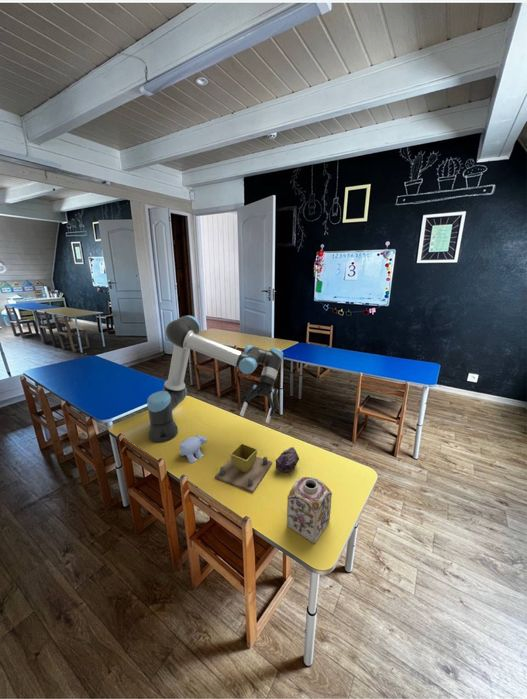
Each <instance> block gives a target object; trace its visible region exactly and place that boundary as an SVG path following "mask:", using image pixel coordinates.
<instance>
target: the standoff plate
mask: <svg viewBox="0 0 527 699" xmlns="http://www.w3.org/2000/svg"><path fill="white" fill-rule="evenodd" d="M272 465H273V461H272V460H268V457H267V456H263V457H259V456H256V460H255V463H254V464H253V466H252V467H251V468H250V469H249V471H248V472H247V473H244V472H242V471H240V470H238V469H236V468H235V466H234V465H233V463H232V459H231V457H230V458H229V459H228V460H227V462H225V464H224V465H223V466H221V467H219V470H218V471H217V473H216V474H215V475H214V478H215V479H216V480H218V481H222V482H224V483H227V484H229V485H232V486H235V487H236V488H239V489H242V490H244V491H247V492H249V493H252V494H254V493H255V491H256V490H257V488H258V486H259V485H260V483H261V482H262V481H263V479H264V477H265V476H266V475H267V473H268V471H269V470H270V468H271V467H272Z"/></svg>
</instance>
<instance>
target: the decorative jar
mask: <svg viewBox="0 0 527 699" xmlns="http://www.w3.org/2000/svg"><path fill="white" fill-rule="evenodd" d="M332 494H333V492H332V491H331V489H330V488H328V486H327V485H326V483H324V482H323V480H319V478H317V477H316V478H315V477H313V476H305V477H299V478H298V479H297V480H296V481H295V482H294V484H293V485H292V487H291V489H290V490H289V493H288V495H287V500H286V501H287V506H286V526H287V527H288V528H290V529H291V530H293V531H294V532H295V533H297V534H298V535H300V536H301V537H303V538H305V539H306V540H308V541H309V542H310V543H312V544H314V543H315V544H316V543H317V541H318V539H320V536H321V535H322V533H323V532H324V530H325V528H326V527H327V525H329V522H330V519H331V508H332Z"/></svg>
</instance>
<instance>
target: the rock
mask: <svg viewBox="0 0 527 699" xmlns="http://www.w3.org/2000/svg"><path fill="white" fill-rule="evenodd" d="M299 460H300V456H299V455H298V452H297V450H296V449H295V447H294V446H292V447H288V449H285V450H283V452H282V453H281V454H280V455H279V456H278V458H276V459H275V469H276V470H277V472H278V473H281V474H282V473H286V472H292V471H293V470H294V469H295V468H296V466H297V464H299Z"/></svg>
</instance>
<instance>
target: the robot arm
mask: <svg viewBox="0 0 527 699" xmlns="http://www.w3.org/2000/svg"><path fill="white" fill-rule="evenodd" d="M200 331H201V324H200V321H199V320H198V319H197V318H196V317H194V316H193V315H183V316H181V317H179V318H177V319H174V320H172V321H170V322H169V323H168V324H167V326H166V327H165V335H166V339H167V340H168V341H169V342H170V343H171V344H173V349H172V355H171V359H170V365H169V366H170V367H169V372H168V378H167V380H165V382H164V384H163V389H162V390H158V391H156V392H153V393H152V394H150V395H149V396H148V397H147V399H146V400H147V411H148V418H149V422H150V423H149V424H150V425H149V431H148V439H149V441H151V442H152V443H166V442H169V441H170V440H173V439H175V437H177V436H178V434H179V433H178V432H179V431H178V429H179V428H178V425H177V423H176V422H175V420H174V415H173V414H174V413H173V411H174V410H175V409H176V407H178V406H179V404H181V403H182V402H184V400H185V398H186V396H187V393H188V391H187V387H186V383H185V376H186V371H187V367H188V362H189V357H190V353H191V352H190V351H191V350H192V351H194V352H196V353H200V354H203V355H205V356H208V357H210V358H213V359H216V360H217V361H220V362H224V363H226V364H228V365H232V366H234V367H236V368H238V369H239V371H240V372H241V374H244V375H251V374H252V373H254V371H255V370H256V369H257V367H258V365H259V364H260V365H263V368H262V371H261V375H260V377H259V380H258V384H254V383H251V384H250V386H249V388H248V389H247V390H246V391H245V392H244V393H243V394H242V396H240V398H239V400H241V401H242V402H241V406H240V411H239V412H240V413H239V415H240V416H241V417H244V416H245V412H246V409H247V408H248V405H249V404H248V402H250V401H251V400H252V399H253V398H256V397H257V396H260V397H262V396H263V397H267V399H268V402H269V405H270V408H269V410H268V412H267V416H266V420H265V423H266V424H269V425H270V421H271V418H273V417H274V416H275V412H276V411H277V410H278V411H279V410H280V403H279V395H278V393H279V390H278V389H277V388H276V387H275V388H274V386H275V382H276V379H277V376H278V373H279V371H280V368H281V367H280V366H281V364H282V361H283V358H284V352H283V351H282V349H280V348H277V347H271V348H270V349H269V350H267V349H266V350H265V349H264V348H260V347H258V346H254V345H252V344H251V345H250V344H247V345H246V346H245V348H244V349H243V350H244V351H242V350H238V349H235V348H234V347H231V346H228V345H226V344H223V343H220V342H218V341H216V340H212V339H210V338H207V337H204V336H202V335H199V333H200ZM271 393H273V397H274V398H273V399H274V401H273V399H272V396H271Z"/></svg>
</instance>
